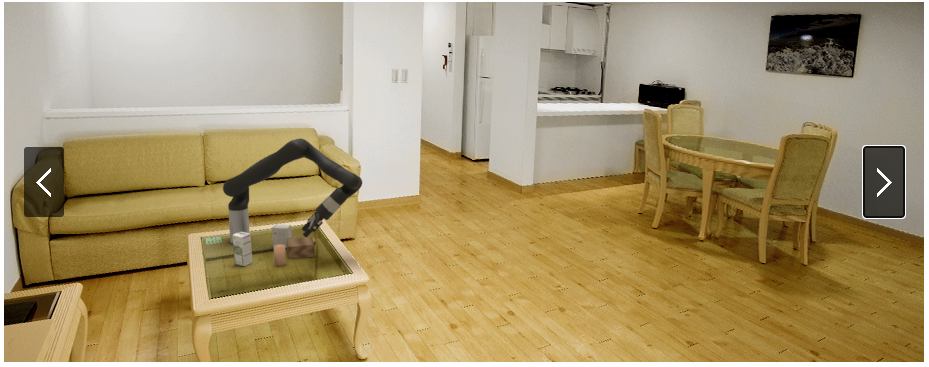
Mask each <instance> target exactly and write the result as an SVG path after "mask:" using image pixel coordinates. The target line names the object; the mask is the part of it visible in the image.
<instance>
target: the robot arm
mask: <svg viewBox="0 0 929 367" xmlns="http://www.w3.org/2000/svg"><path fill="white" fill-rule="evenodd" d="M304 158H305V159H307V160H309V161H311V162H313V163H314V164H315V165H316V166H317V167H318V168H319V169H320V171H322V172H323V173H324V174H325V175H326V176H327V177H330V178H332V179H333V180H335V181H338V182H339V183H340V184H342V185H341V186H340V187H337V188H335V190H333V191H332V192H331V194H330V195H329V196H327V197H326V198H325V199H324V200H323V201H322V202H321V203H320V204H319V205H318V206H317V207H316V208H315V211H314V213H313V214H311V216H310V217H308V218H307V221H306V223H305V224H304V225H303V226H302V227H301V230H302V231H303V234H302V236H303V237H310V235H311V234H312V233H315V232H316V231H317V230H318V229H319V228H320V227H321V226H322V225H323V223H324V222H323V220H325V221H328V220H330V219H331V217H333V215H335V213H337V211H338V210H339V209H340V207H341V206H342V205H344V203H345V202H346V201H347V200H348V199H350V198H351V197H352V196H353V195H354V194H356V193H357V192H358V191H359V190H360V189H361V187H362V185H363V179H362V178H361V177H360V176H359V175H357V174H356V173H354V172H352V171H350V170H348V169H346V168H345V167H343V166H342V165H340V164H339V163H337V162H335V161H333V160H332V159H330V158H329V157H328V156H326V155H325V154H324V153H322V152H321V151H320V150H318V149H317V148H316V147H315V146H314V145H313V144H312V143H310V142H309V141H308V140H307V139H306V138H305V139H304V138H296V139H291V140H290V141H288V142H287V143H285V144H284V145H283V146H282V147H281V148H279V149H278V150H276V151H275V152H273V153H271V154H269V155H267V156H264V157H263V158H262V159H260V160H258V161H257V162H255V163H253V164H252V165H251V166H249V167H248V168H246V170H244V171H242V172H241V173H240V174H237V175H235V176H234V177H233V176H232V177H230V178H229V179H227V180H225V181H224V183H223V186H222V191H223V193H224V195H226V196H228V197H231V200H230V201H229V202H228V204H227V206H228V207H227V209H228V219H229V224H228V228H229V237H230V238H229V239H230V244H233V235H234V234H236V233H238V232H245V233H250V232H251V231H250V218H249V202H250V187H251V186H253V185H255V184H258V183H261V182H264V181H266V180H267V179H269V178H271V177H272V176H274V175H275V174H277V173H278V172H279V171H280V170H281V169H282V167H284V166H285V165H287V164H290V163H291V162H294V161H297V160H301V159H304ZM250 234H251V233H250Z"/></svg>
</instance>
